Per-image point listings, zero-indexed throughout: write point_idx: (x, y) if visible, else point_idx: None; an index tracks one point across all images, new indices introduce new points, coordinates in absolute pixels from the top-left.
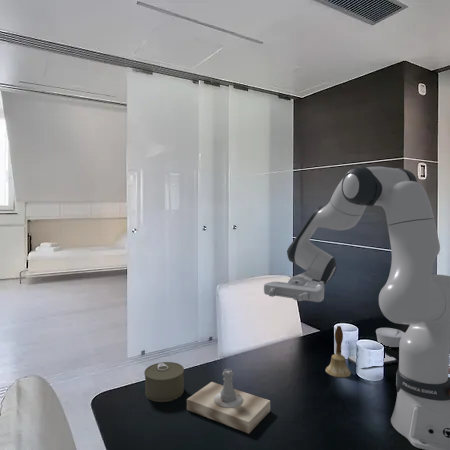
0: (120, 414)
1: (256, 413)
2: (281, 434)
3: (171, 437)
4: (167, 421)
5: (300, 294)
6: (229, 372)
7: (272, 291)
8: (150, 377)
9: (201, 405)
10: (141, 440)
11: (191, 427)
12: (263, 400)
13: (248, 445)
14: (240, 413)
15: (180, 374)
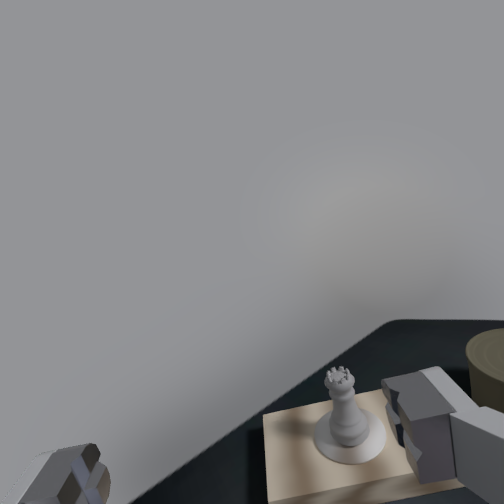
0: (463, 335)
1: (266, 440)
2: (216, 470)
3: (353, 360)
4: (396, 369)
5: (25, 484)
6: (327, 371)
7: (392, 377)
8: (499, 333)
9: (372, 392)
10: (374, 338)
11: (354, 384)
12: (282, 490)
13: (253, 415)
14: (292, 420)
15: (478, 369)
